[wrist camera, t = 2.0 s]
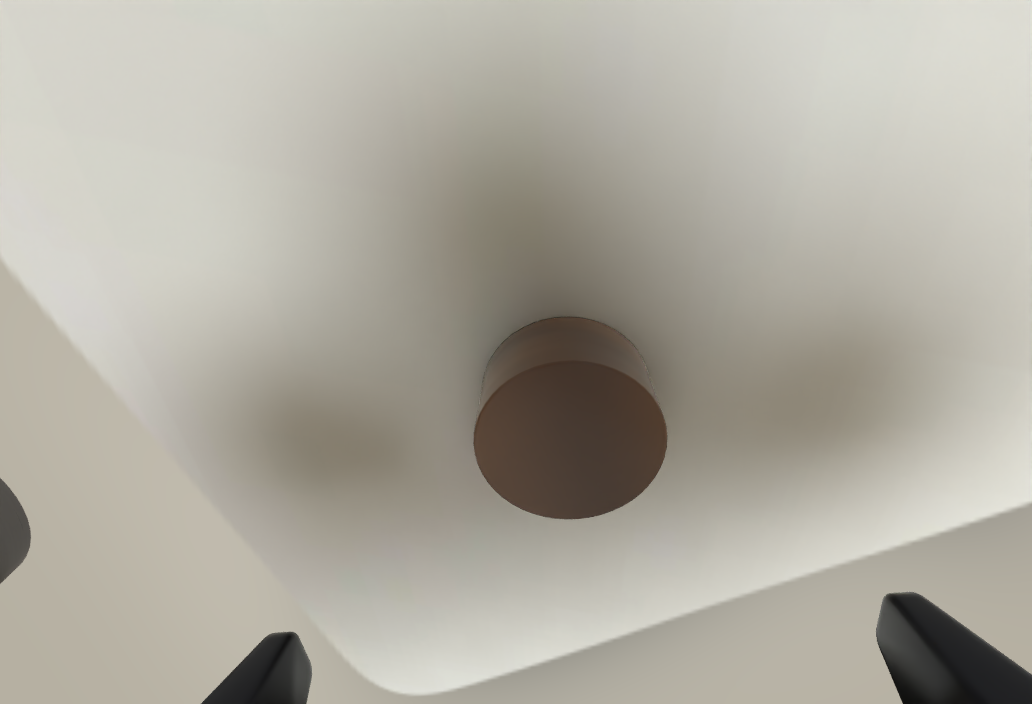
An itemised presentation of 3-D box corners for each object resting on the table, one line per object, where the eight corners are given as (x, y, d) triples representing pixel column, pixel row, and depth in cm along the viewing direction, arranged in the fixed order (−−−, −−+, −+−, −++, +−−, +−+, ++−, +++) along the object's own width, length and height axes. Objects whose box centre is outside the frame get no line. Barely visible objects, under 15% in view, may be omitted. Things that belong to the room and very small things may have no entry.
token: (496, 466, 16) (489, 527, 14) (469, 326, 14) (457, 372, 12) (651, 452, 16) (669, 512, 14) (646, 306, 14) (665, 351, 12)
